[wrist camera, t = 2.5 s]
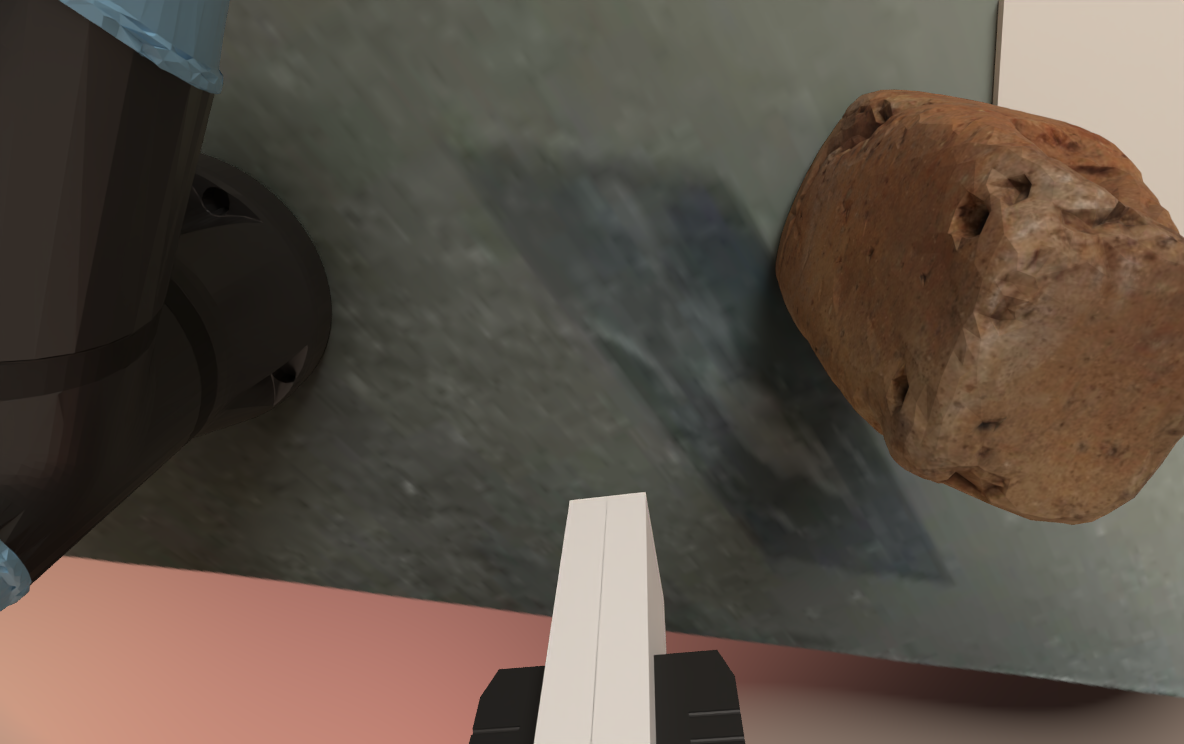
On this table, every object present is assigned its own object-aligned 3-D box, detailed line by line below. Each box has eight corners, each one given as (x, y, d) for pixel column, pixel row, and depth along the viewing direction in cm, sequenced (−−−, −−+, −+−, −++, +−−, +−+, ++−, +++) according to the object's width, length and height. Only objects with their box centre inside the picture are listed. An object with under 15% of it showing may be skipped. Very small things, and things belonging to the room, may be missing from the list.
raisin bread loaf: (885, 317, 38) (1119, 570, 19) (753, 281, 37) (865, 506, 19) (984, 109, 33) (1409, 189, 15) (834, 66, 32) (1084, 92, 14)
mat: (978, 330, 38) (988, 338, 37) (999, -1, 31) (1010, -2, 30) (1308, 287, 36) (1327, 293, 35) (1404, -77, 29) (1431, -81, 28)
